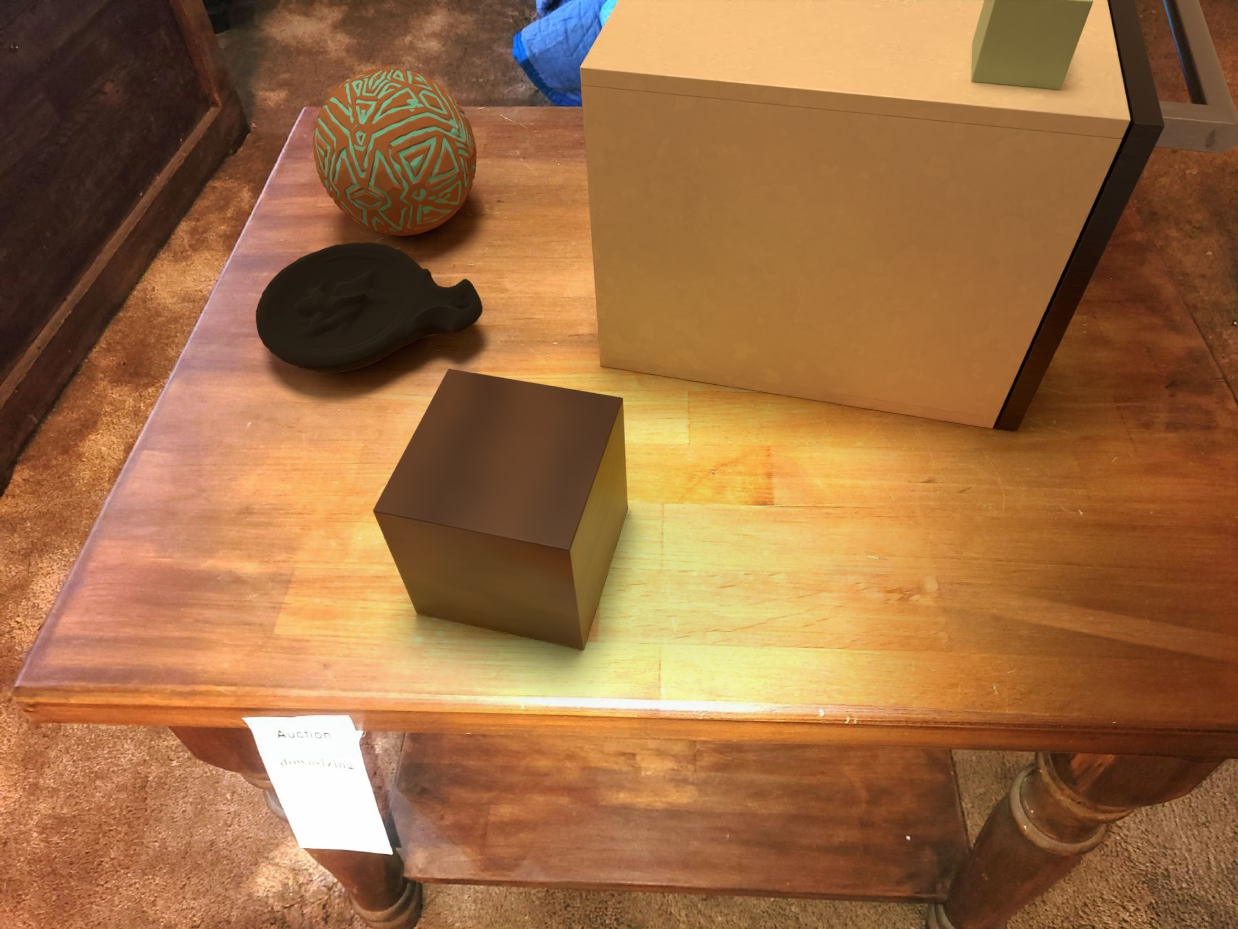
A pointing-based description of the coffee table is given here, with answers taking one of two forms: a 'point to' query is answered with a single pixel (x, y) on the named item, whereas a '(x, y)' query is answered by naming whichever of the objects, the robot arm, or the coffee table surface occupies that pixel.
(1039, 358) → the oven door
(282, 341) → the oil lamp
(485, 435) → the stand
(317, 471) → the coffee table surface
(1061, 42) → the block
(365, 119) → the decorative sphere
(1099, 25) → the oven
